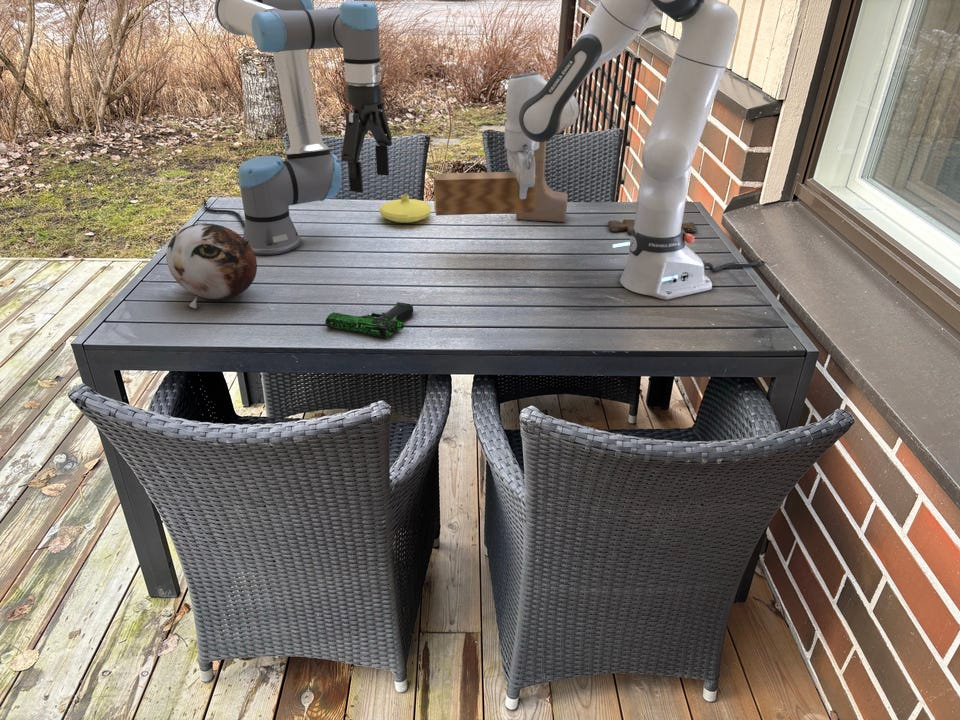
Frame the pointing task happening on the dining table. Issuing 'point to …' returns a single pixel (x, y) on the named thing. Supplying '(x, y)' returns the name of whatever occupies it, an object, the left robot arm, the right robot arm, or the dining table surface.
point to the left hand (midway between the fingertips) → (370, 182)
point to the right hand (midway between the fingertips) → (519, 194)
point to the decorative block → (545, 194)
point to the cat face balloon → (211, 261)
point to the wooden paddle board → (628, 225)
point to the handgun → (373, 321)
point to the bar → (481, 194)
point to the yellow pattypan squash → (405, 210)
